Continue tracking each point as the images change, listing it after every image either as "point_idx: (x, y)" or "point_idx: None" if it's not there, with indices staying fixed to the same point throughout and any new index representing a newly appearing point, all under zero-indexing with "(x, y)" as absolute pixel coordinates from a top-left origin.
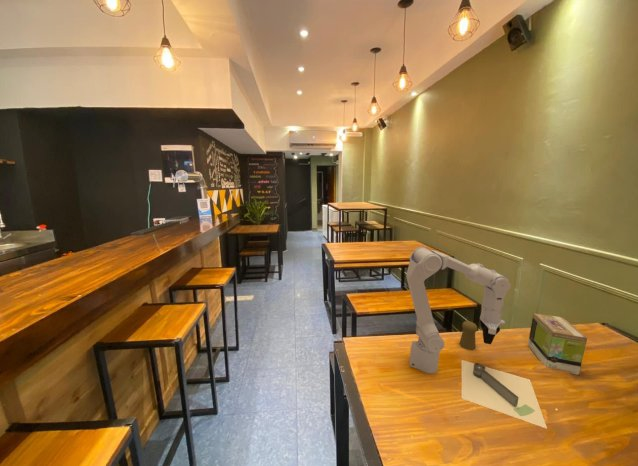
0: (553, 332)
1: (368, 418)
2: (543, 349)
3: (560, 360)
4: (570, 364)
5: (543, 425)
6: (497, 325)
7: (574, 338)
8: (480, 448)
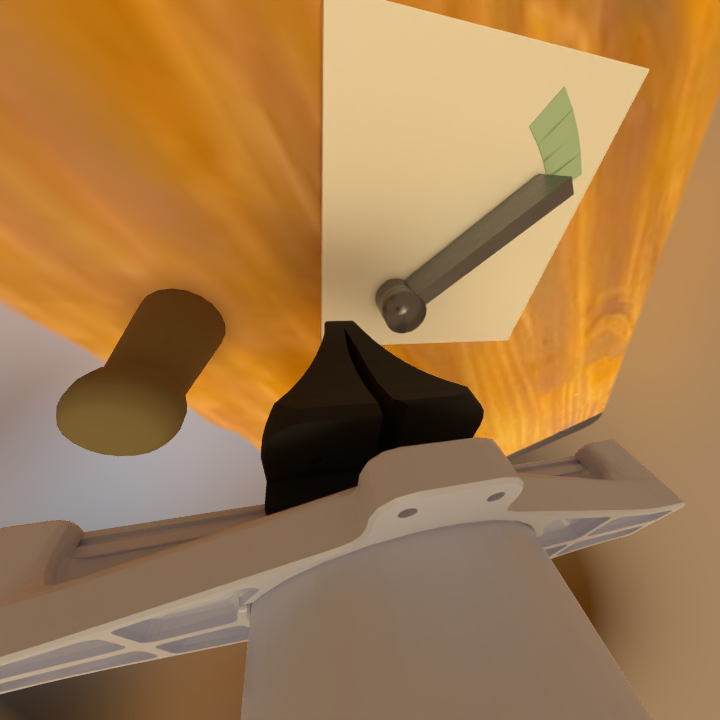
0: None
1: (540, 439)
2: None
3: None
4: None
5: (634, 81)
6: (601, 515)
7: None
8: (622, 299)
